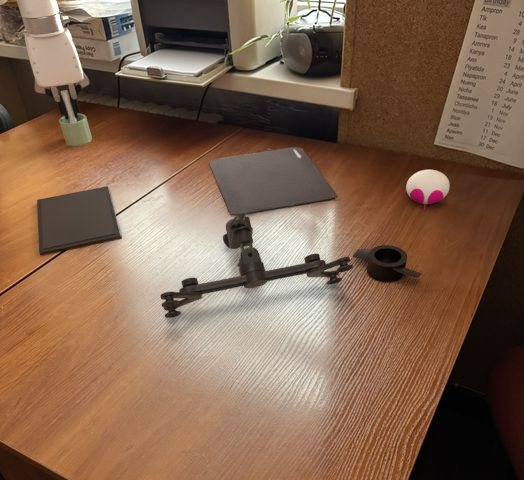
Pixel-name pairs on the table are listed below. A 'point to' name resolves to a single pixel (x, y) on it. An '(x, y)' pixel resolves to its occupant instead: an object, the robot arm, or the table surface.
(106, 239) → the tablet
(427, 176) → the stress ball
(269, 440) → the table surface
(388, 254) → the black winged ring
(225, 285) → the tablet mount
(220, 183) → the mouse pad
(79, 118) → the pen cup
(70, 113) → the stylus
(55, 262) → the table surface
